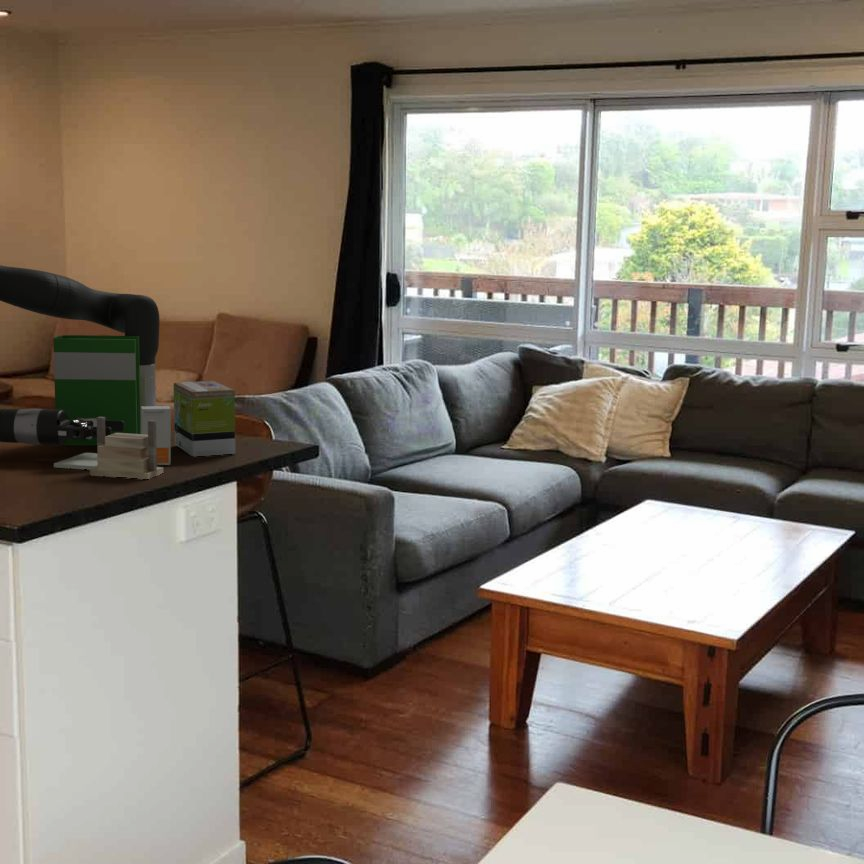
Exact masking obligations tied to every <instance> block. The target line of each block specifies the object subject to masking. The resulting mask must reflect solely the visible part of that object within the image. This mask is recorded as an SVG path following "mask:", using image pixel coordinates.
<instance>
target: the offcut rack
mask: <svg viewBox="0 0 864 864" xmlns="http://www.w3.org/2000/svg"><path fill="white" fill-rule="evenodd" d="M96 449H97V452H96V453H97V460H98V467H96V468H93V469H90V470H89V476H90V475H91V477H93V476H95V477H103V476H105V477H107V478H116V477H127V478H126V479H130V478H138V479H137V480H143V479H149V480H151V479H153V477H154V478H155V476H156V477H158V476H161V475H163V474H164V472H165V470H164V469H165V468H164V467H163V466H162V467H161V466H158V465H157V453H156V420H149V421H148V435H143V434H128V433H114V434H111V435H108V436H105V417H97V447H96ZM162 473H163V474H162ZM160 474H161V475H160ZM150 478H151V479H150Z"/></svg>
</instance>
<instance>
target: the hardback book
mask: <svg viewBox="0 0 864 864" xmlns="http://www.w3.org/2000/svg"><path fill="white" fill-rule="evenodd" d="M52 345H53V346H52V347H53V371H54V372H53V375H54V376H53V379H54V380H53V381H54V406H55V407H54V409H59V410H64V411H65V412H66V413H67V417H68V419H69V420H71V419H74V418H76V417H90V418H97V417H105V418H107V420H113V421H124V424H125V429H124V431H122V432H120V431H112V434H114V433H128V434H141V415H140V359H139V336H125V335H103V334H102V335H98V334H97V335H93V334H92V335H91V334H90V335H89V334H87V335H86V334H58V335H57V336H55V337H54V338H52ZM96 445H97V438H93V436H92V438H91V439H86V440H71V439H67V440H66V442H65V443H64V444H63V445H62V446H96Z"/></svg>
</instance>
